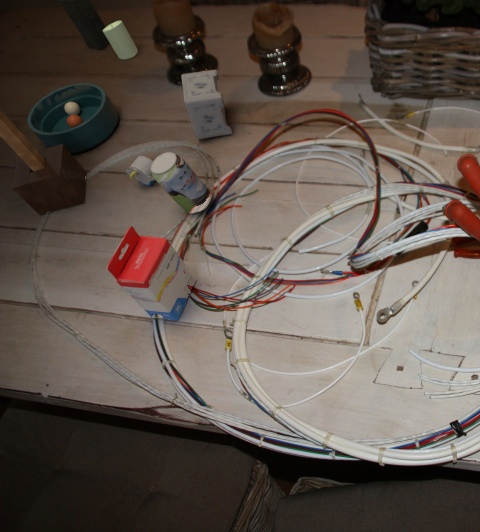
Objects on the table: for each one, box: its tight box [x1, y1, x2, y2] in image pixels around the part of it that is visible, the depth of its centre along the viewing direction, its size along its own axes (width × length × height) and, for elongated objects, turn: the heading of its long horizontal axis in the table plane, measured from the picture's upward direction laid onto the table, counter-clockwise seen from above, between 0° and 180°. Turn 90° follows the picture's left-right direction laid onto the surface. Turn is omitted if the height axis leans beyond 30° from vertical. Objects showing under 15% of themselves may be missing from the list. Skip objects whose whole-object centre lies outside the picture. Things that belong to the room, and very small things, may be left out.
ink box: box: [106, 225, 197, 321], centre depth 86 cm, size 8×5×15 cm, turn 170°
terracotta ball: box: [67, 115, 83, 128], centre depth 118 cm, size 3×3×3 cm
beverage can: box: [151, 151, 211, 214], centre depth 98 cm, size 6×7×12 cm
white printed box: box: [181, 69, 233, 140], centre depth 112 cm, size 10×8×10 cm
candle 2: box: [103, 20, 139, 60], centre depth 131 cm, size 5×5×8 cm
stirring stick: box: [0, 109, 46, 171], centre depth 96 cm, size 2×2×28 cm
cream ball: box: [65, 102, 80, 115], centre depth 120 cm, size 3×3×3 cm
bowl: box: [26, 82, 119, 154], centre depth 117 cm, size 16×16×6 cm
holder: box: [11, 144, 87, 216], centre depth 105 cm, size 9×9×8 cm
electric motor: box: [124, 155, 156, 187], centre depth 106 cm, size 7×5×5 cm
